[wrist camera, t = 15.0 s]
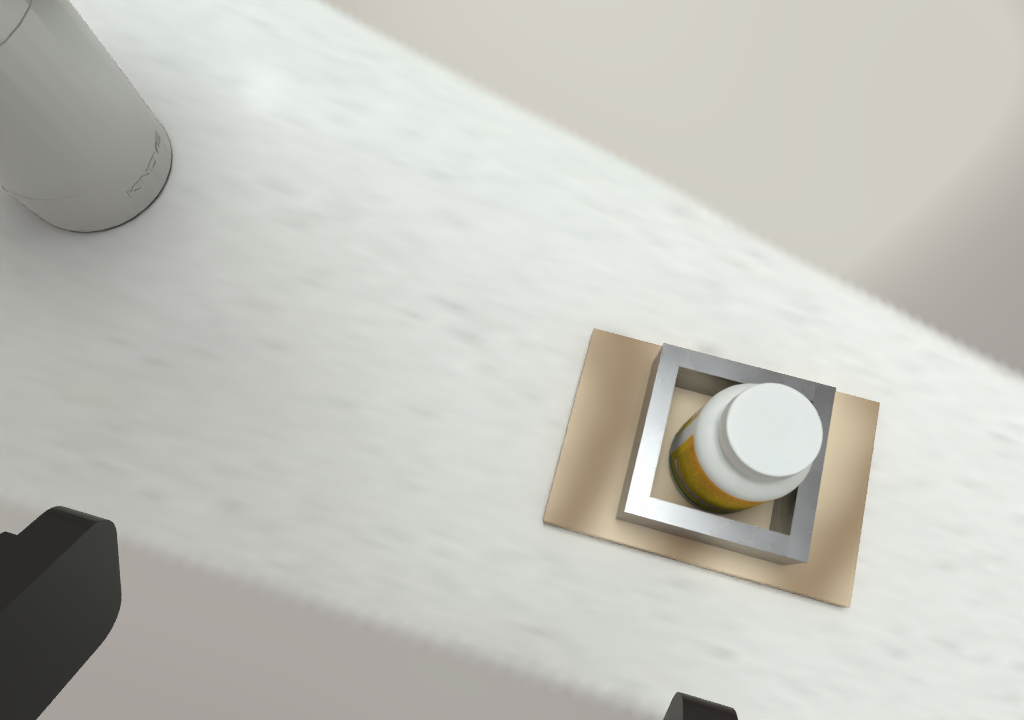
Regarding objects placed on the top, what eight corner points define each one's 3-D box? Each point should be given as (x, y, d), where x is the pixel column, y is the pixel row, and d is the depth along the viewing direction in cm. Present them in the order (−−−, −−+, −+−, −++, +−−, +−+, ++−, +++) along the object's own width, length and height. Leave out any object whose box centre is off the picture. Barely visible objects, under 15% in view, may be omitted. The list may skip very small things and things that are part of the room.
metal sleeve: (615, 518, 40) (624, 511, 37) (652, 362, 43) (663, 343, 39) (782, 565, 40) (807, 562, 36) (810, 404, 42) (836, 387, 39)
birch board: (542, 522, 41) (543, 520, 40) (592, 334, 44) (593, 328, 43) (842, 607, 40) (850, 607, 39) (871, 407, 43) (879, 402, 42)
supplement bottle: (681, 402, 42) (727, 348, 33) (778, 433, 42) (852, 386, 32) (655, 497, 41) (696, 468, 31) (754, 530, 40) (826, 510, 31)
